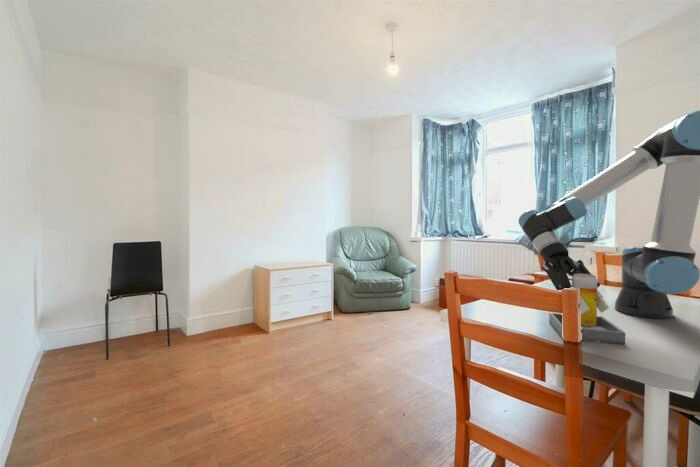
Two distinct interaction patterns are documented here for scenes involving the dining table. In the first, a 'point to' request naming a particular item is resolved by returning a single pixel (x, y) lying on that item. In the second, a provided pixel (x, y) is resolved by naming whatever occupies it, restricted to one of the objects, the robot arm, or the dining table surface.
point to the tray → (593, 330)
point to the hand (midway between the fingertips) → (595, 310)
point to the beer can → (587, 297)
